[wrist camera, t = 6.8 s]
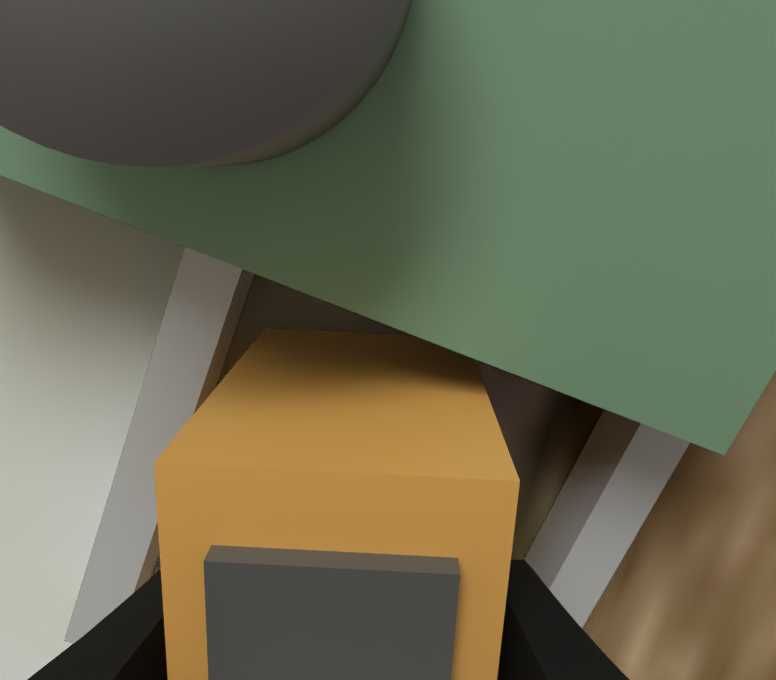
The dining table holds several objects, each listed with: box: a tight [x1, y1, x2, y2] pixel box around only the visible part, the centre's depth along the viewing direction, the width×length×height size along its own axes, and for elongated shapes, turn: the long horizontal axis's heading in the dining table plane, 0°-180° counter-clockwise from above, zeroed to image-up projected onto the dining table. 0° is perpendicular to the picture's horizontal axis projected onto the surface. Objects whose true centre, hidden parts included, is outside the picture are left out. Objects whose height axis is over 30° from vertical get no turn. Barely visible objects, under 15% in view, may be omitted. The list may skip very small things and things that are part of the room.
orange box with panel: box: [154, 329, 520, 680], centre depth 11 cm, size 4×8×6 cm, turn 177°
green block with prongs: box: [0, 0, 776, 644], centre depth 9 cm, size 15×16×6 cm
